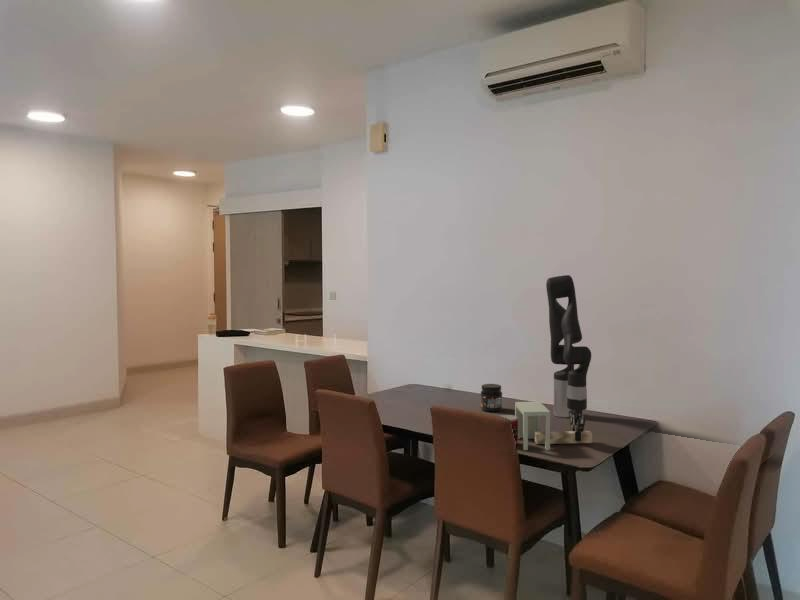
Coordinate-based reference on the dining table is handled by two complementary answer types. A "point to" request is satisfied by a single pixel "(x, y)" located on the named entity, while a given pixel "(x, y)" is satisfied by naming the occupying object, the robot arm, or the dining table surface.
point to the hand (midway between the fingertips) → (576, 439)
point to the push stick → (563, 437)
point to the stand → (532, 421)
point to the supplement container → (491, 397)
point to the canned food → (513, 425)
